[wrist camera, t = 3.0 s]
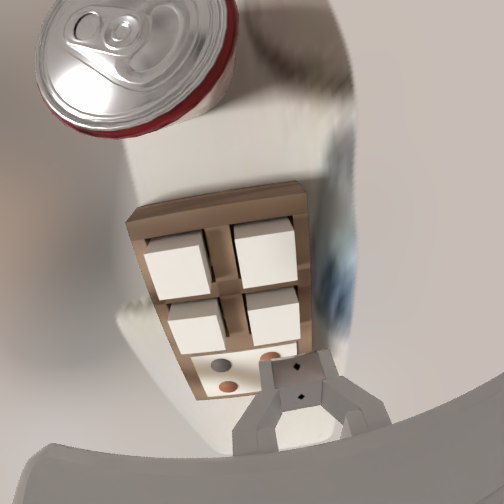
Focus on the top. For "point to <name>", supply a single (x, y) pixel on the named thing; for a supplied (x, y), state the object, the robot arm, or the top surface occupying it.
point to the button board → (229, 279)
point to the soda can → (134, 62)
